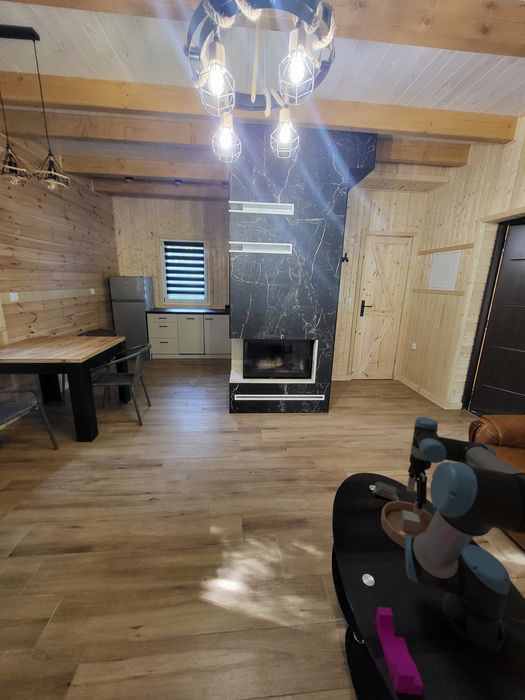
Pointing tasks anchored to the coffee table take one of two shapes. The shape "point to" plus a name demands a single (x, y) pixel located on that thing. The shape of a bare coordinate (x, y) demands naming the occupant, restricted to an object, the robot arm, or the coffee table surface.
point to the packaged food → (386, 491)
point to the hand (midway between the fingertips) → (413, 502)
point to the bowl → (393, 518)
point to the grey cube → (410, 522)
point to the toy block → (397, 655)
